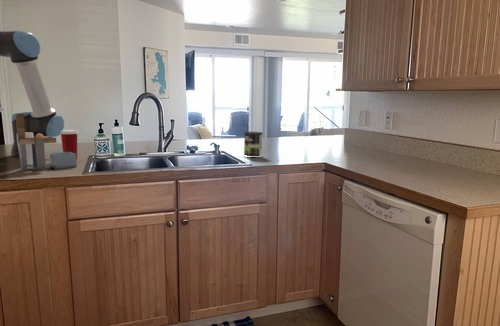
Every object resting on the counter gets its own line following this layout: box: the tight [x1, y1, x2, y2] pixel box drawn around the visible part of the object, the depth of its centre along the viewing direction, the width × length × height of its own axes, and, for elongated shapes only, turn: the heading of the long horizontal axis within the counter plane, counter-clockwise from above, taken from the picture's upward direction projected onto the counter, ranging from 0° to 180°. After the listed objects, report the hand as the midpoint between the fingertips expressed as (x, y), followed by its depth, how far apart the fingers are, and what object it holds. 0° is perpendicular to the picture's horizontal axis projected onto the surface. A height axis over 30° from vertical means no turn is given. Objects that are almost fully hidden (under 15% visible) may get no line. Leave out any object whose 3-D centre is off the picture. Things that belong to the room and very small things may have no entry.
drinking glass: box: [17, 132, 34, 166], centre depth 175 cm, size 7×7×15 cm
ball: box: [36, 133, 44, 139], centre depth 165 cm, size 3×3×3 cm
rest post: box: [19, 144, 29, 172], centre depth 162 cm, size 4×2×11 cm, turn 43°
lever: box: [16, 112, 57, 145], centre depth 164 cm, size 6×14×13 cm, turn 133°
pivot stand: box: [28, 139, 51, 172], centre depth 166 cm, size 9×6×14 cm, turn 43°
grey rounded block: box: [49, 151, 78, 170], centre depth 173 cm, size 9×9×6 cm
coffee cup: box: [60, 129, 79, 161], centre depth 191 cm, size 8×8×15 cm
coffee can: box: [243, 131, 263, 156], centre depth 214 cm, size 10×10×14 cm
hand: (0, 111), depth 154 cm, fingers closed
